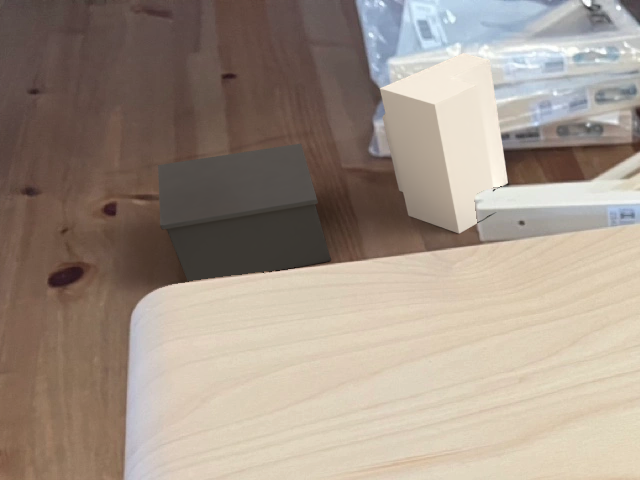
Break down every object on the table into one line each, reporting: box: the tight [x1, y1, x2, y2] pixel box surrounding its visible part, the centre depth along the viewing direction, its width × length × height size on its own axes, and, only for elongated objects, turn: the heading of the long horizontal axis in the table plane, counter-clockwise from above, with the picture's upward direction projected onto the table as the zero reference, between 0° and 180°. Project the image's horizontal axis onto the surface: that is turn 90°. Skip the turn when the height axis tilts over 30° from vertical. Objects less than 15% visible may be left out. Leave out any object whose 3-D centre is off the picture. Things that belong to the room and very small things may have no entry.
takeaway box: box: [157, 143, 332, 282], centre depth 92 cm, size 13×13×6 cm
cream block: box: [379, 52, 509, 234], centre depth 97 cm, size 11×11×12 cm
